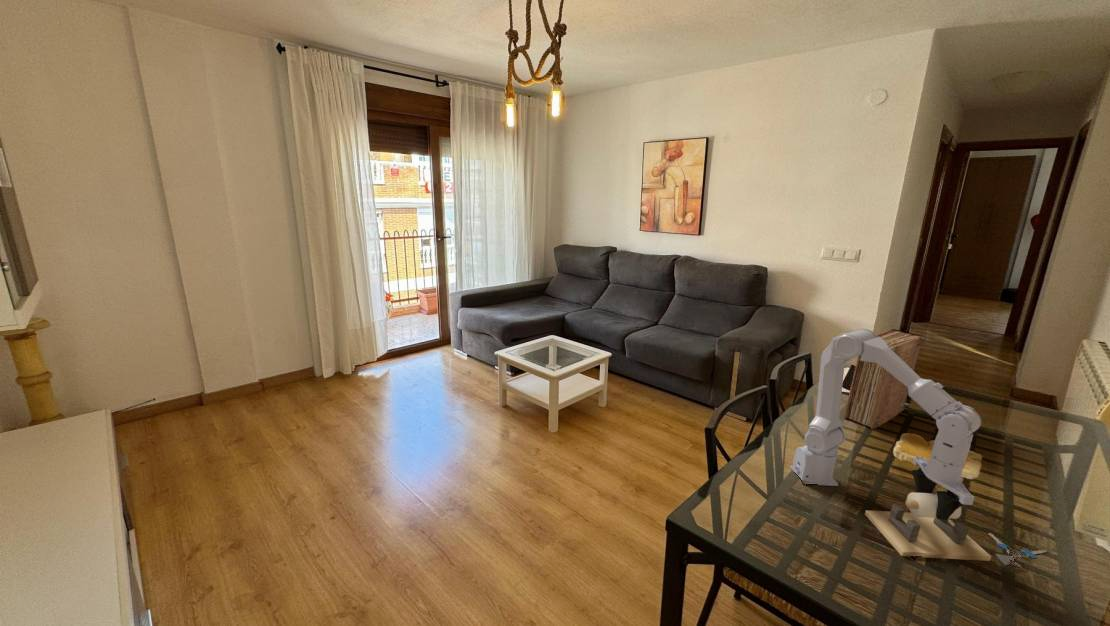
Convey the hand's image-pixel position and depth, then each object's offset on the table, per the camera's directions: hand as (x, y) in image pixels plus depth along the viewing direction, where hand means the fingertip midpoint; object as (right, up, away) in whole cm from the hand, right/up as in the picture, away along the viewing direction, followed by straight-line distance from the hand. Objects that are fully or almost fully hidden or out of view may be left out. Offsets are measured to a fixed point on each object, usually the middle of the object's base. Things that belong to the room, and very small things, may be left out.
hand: (931, 509), depth 102 cm
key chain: (+17, -9, -1) cm, 19 cm away
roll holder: (0, -7, +2) cm, 8 cm away
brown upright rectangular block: (+29, +8, +59) cm, 66 cm away
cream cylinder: (0, +1, 0) cm, 1 cm away
